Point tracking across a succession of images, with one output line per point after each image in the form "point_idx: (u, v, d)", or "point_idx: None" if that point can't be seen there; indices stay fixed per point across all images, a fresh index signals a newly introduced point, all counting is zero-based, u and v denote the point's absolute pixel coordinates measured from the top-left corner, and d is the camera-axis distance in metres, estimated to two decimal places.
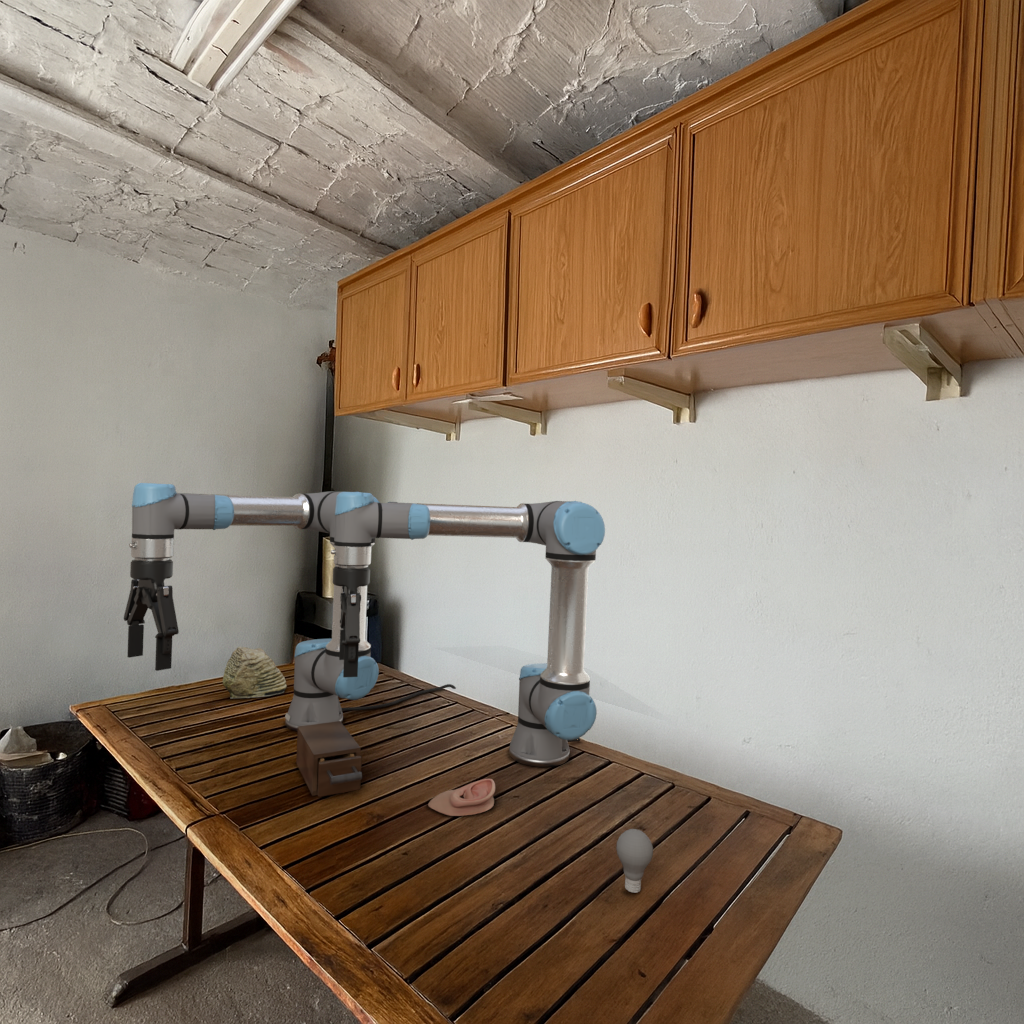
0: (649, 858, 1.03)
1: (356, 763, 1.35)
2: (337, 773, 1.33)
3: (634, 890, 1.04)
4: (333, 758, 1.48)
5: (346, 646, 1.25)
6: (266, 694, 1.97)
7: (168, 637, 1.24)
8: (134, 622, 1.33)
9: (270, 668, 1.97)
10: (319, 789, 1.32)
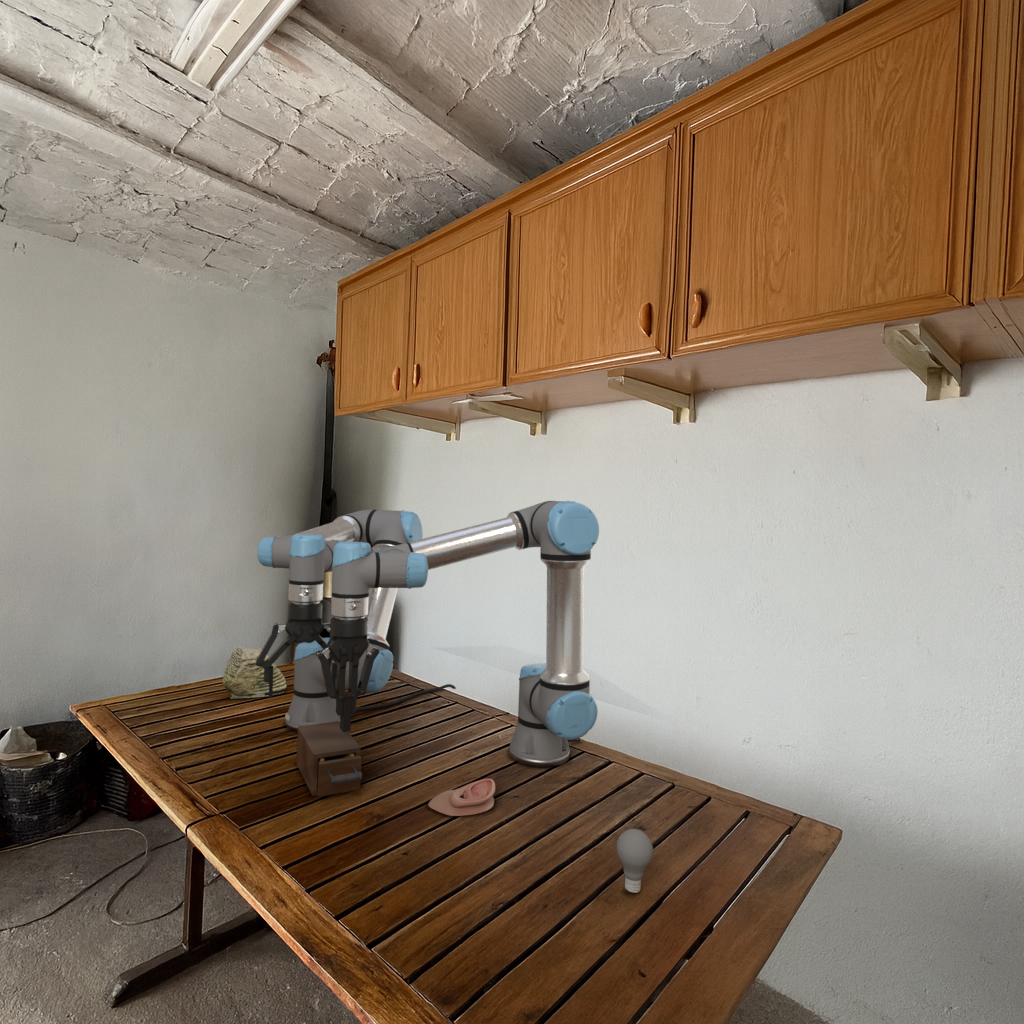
0: (649, 858, 1.03)
1: (356, 763, 1.35)
2: (337, 773, 1.33)
3: (634, 890, 1.04)
4: (333, 758, 1.48)
5: None
6: (266, 694, 1.97)
7: None
8: None
9: None
10: (319, 789, 1.32)
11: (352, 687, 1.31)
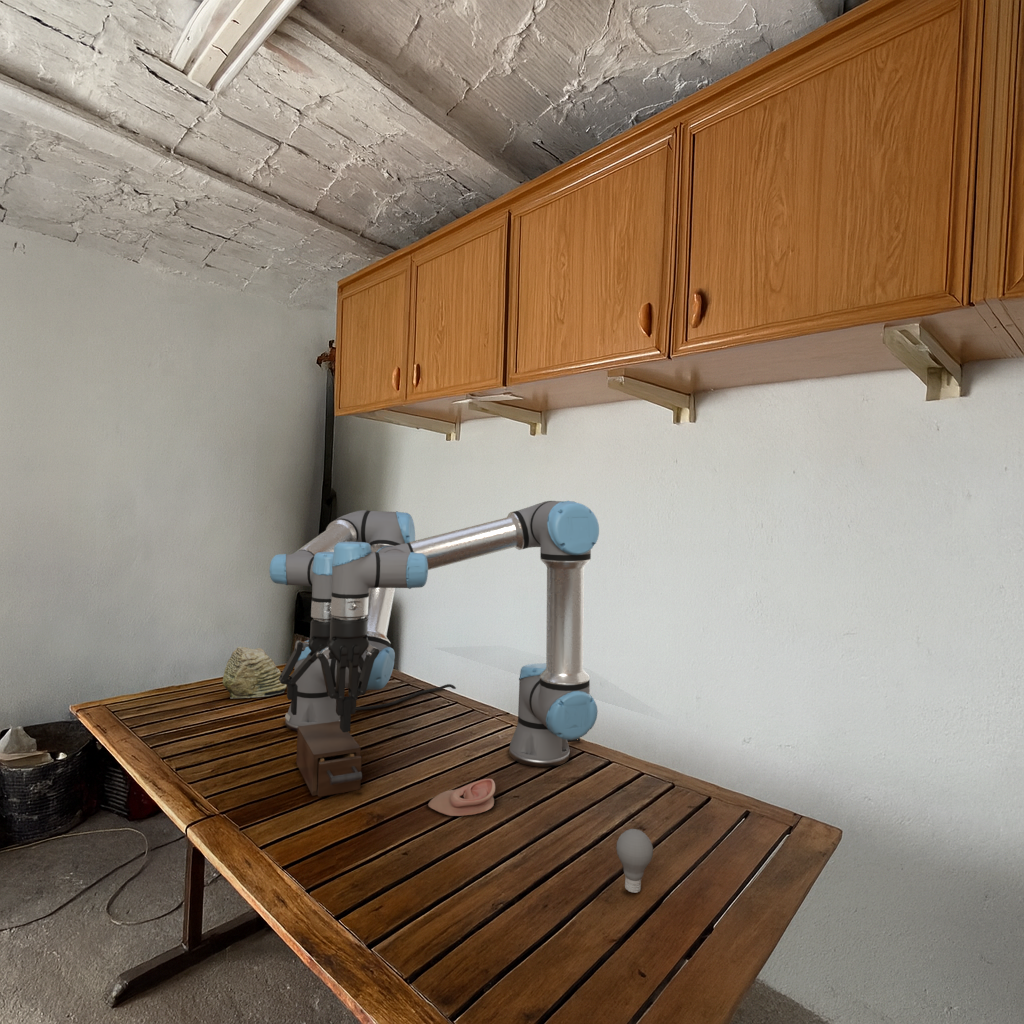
0: (649, 858, 1.03)
1: (356, 763, 1.35)
2: (337, 773, 1.33)
3: (634, 890, 1.04)
4: (333, 758, 1.48)
5: None
6: (266, 694, 1.97)
7: None
8: None
9: (270, 668, 1.97)
10: (319, 789, 1.32)
11: (352, 687, 1.31)
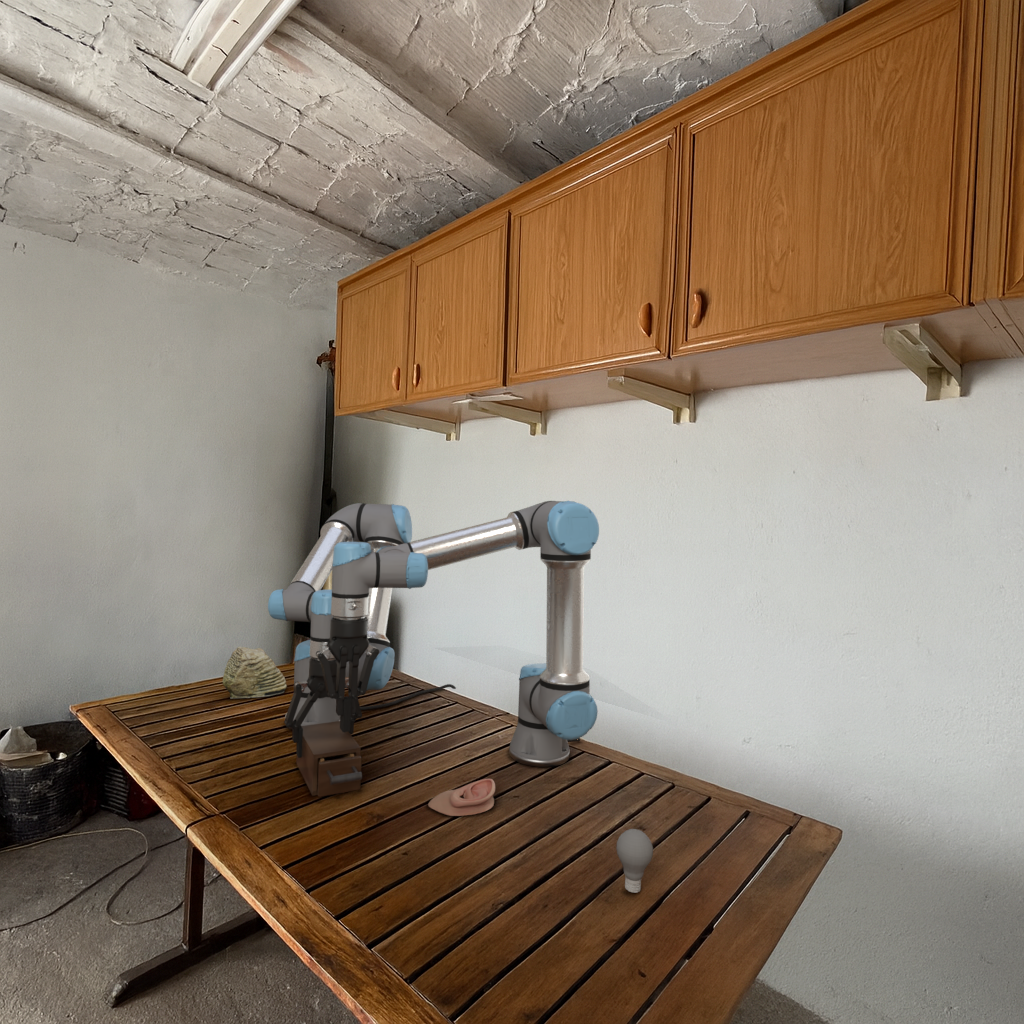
0: (649, 858, 1.03)
1: (356, 763, 1.35)
2: (337, 773, 1.33)
3: (634, 890, 1.04)
4: (333, 758, 1.48)
5: None
6: (266, 694, 1.97)
7: None
8: None
9: (270, 668, 1.97)
10: (319, 789, 1.32)
11: (352, 687, 1.31)
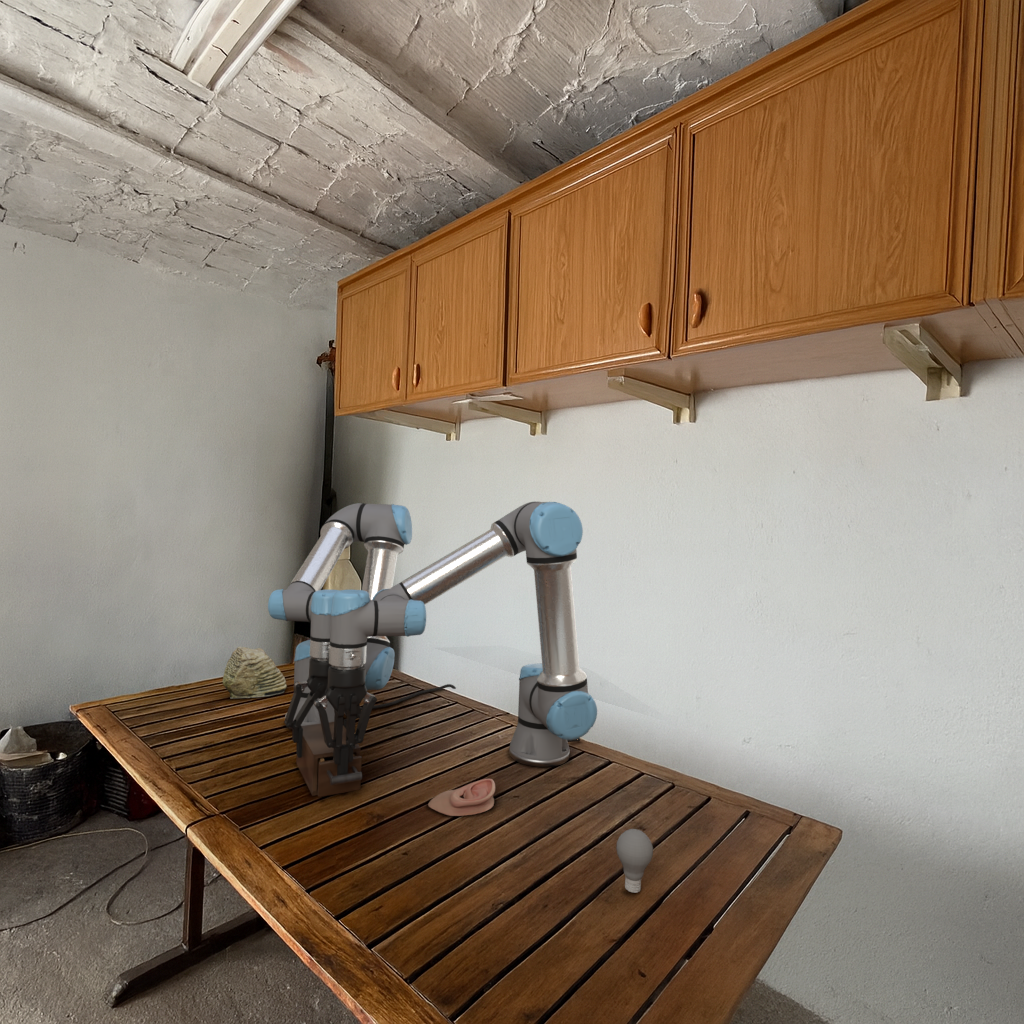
0: (649, 858, 1.03)
1: (356, 763, 1.35)
2: None
3: (634, 890, 1.04)
4: None
5: None
6: (266, 694, 1.97)
7: None
8: None
9: (270, 668, 1.97)
10: (319, 789, 1.32)
11: (349, 736, 1.31)
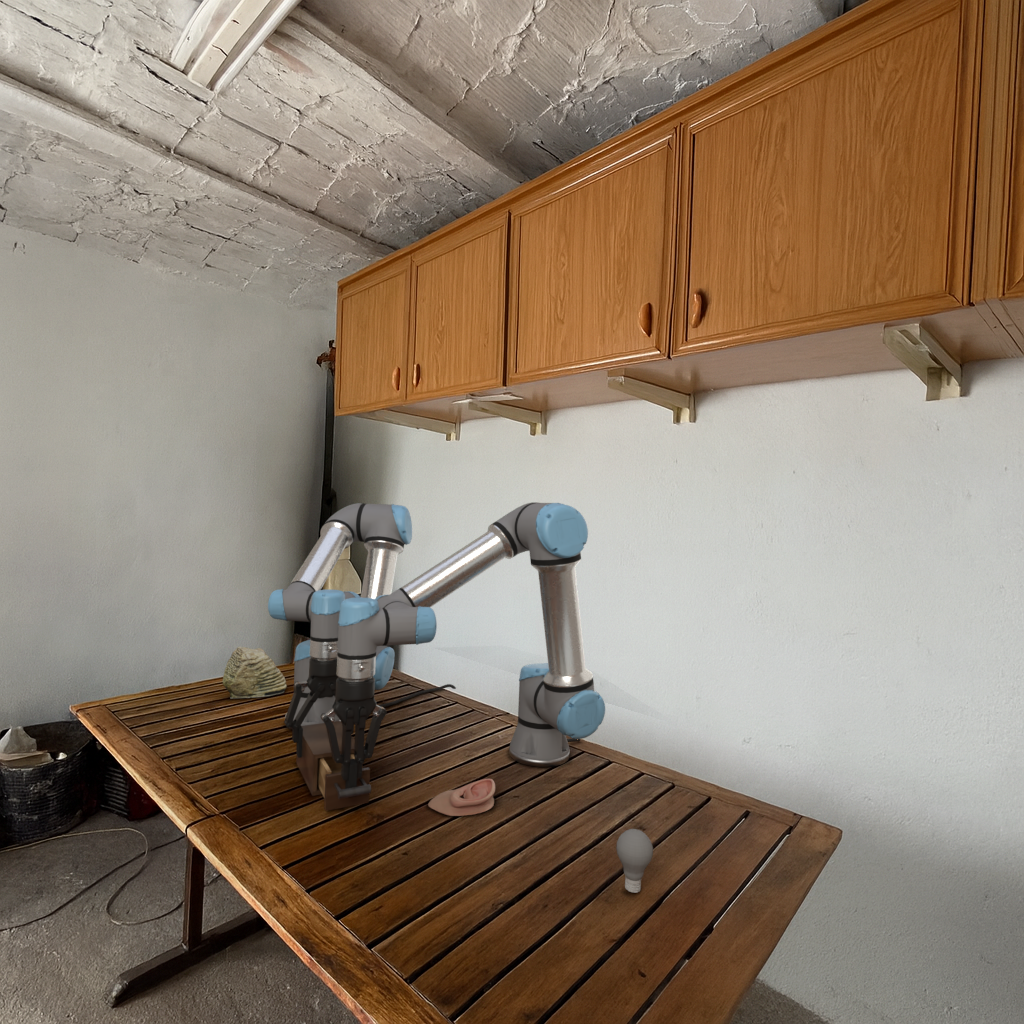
0: (649, 858, 1.03)
1: (364, 775, 1.30)
2: None
3: (634, 890, 1.04)
4: (340, 769, 1.43)
5: None
6: (266, 694, 1.97)
7: None
8: None
9: (270, 668, 1.97)
10: (326, 803, 1.26)
11: (358, 750, 1.25)
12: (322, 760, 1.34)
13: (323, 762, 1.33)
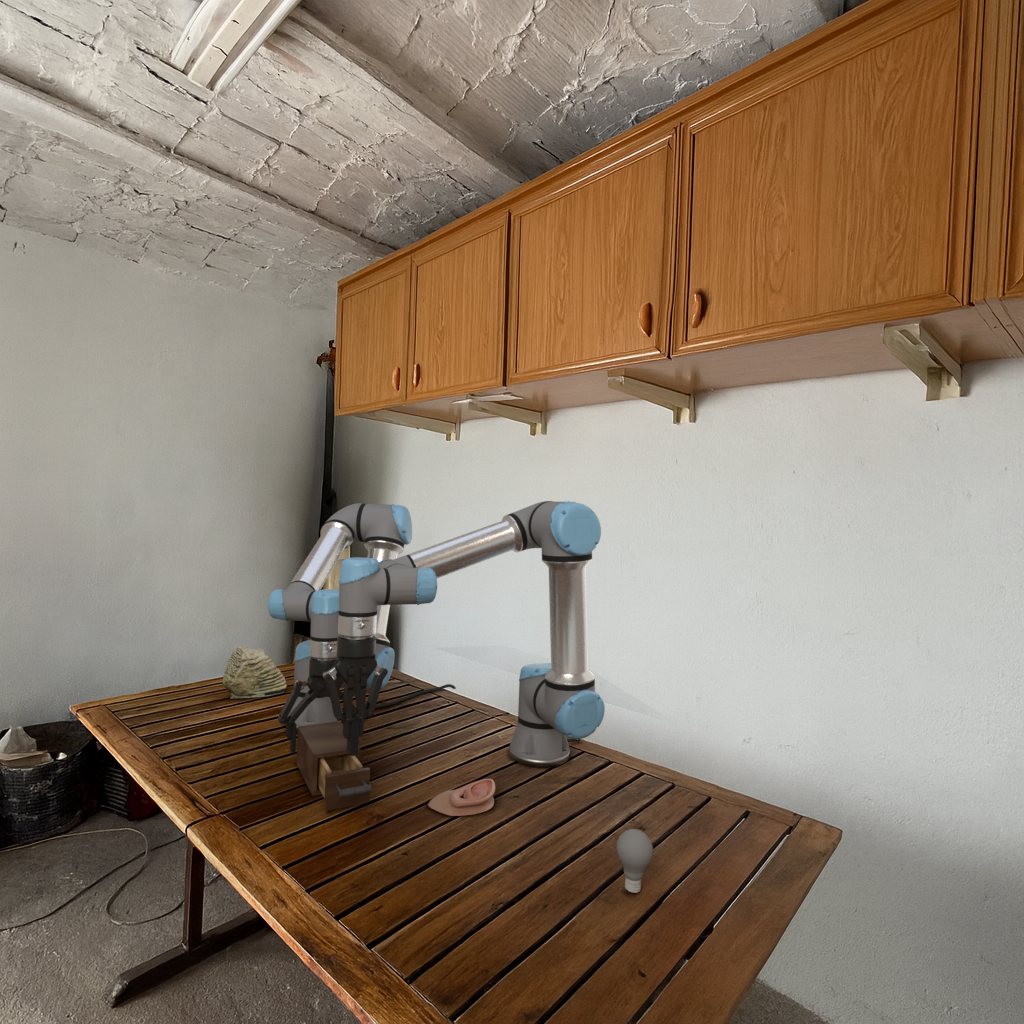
0: (649, 858, 1.03)
1: (365, 775, 1.30)
2: (345, 786, 1.28)
3: (634, 890, 1.04)
4: (340, 769, 1.43)
5: None
6: (266, 694, 1.97)
7: None
8: None
9: (270, 668, 1.97)
10: (326, 803, 1.26)
11: (360, 709, 1.26)
12: (322, 760, 1.34)
13: (323, 762, 1.33)
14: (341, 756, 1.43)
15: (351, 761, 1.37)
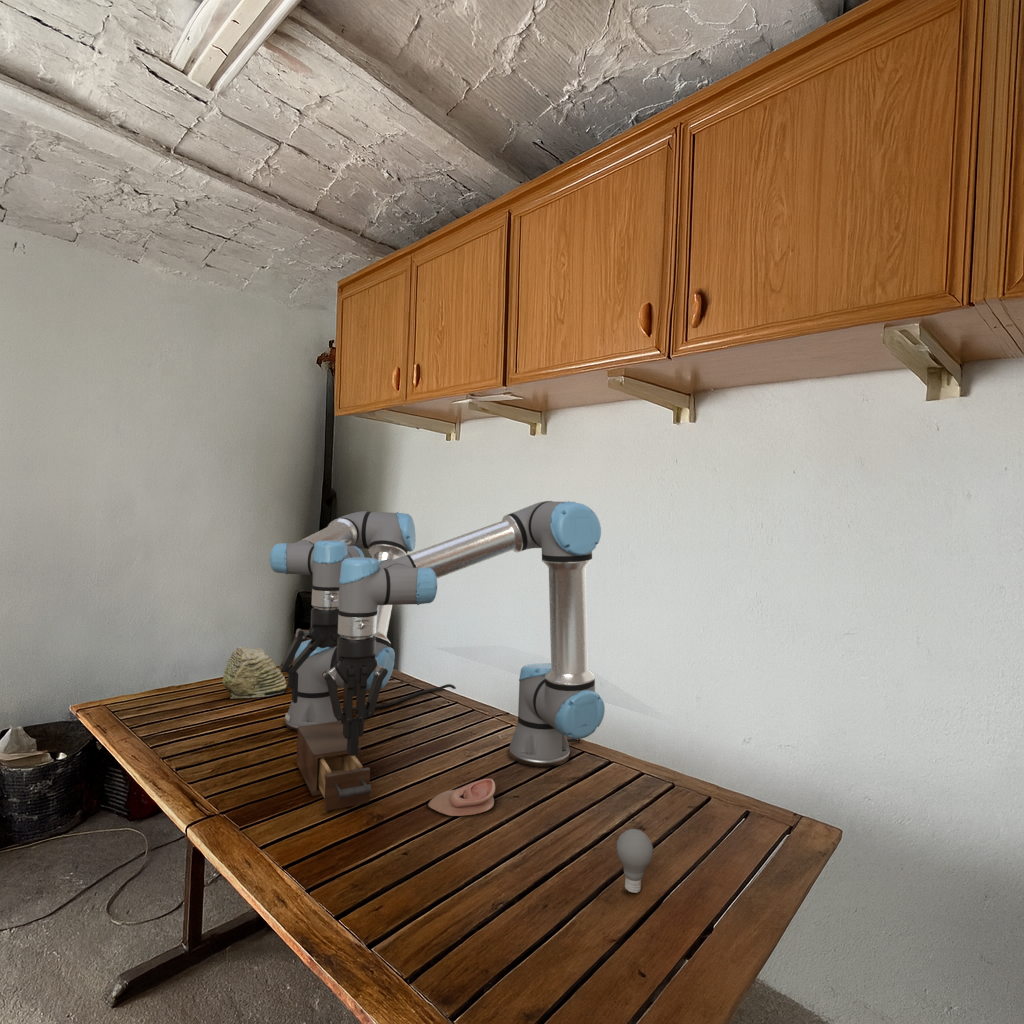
0: (649, 858, 1.03)
1: (365, 775, 1.30)
2: (345, 786, 1.28)
3: (634, 890, 1.04)
4: (340, 769, 1.43)
5: None
6: (266, 694, 1.97)
7: None
8: None
9: (270, 668, 1.97)
10: (326, 803, 1.26)
11: (360, 709, 1.26)
12: (322, 760, 1.34)
13: (323, 762, 1.33)
14: (341, 756, 1.43)
15: (351, 761, 1.37)
